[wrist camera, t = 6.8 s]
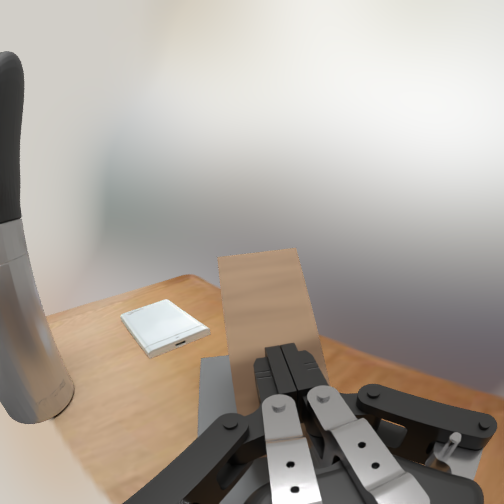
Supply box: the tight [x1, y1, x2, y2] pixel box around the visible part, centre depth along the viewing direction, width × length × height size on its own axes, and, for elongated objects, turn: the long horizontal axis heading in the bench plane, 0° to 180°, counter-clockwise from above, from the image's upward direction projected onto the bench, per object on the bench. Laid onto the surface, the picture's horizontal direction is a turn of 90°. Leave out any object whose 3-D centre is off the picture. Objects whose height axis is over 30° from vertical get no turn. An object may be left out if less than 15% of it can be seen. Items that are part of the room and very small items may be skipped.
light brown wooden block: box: [218, 248, 330, 458], centre depth 17 cm, size 5×5×12 cm
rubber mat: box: [198, 355, 320, 504], centre depth 18 cm, size 18×10×1 cm, turn 7°
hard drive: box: [121, 299, 210, 359], centre depth 35 cm, size 2×8×12 cm
